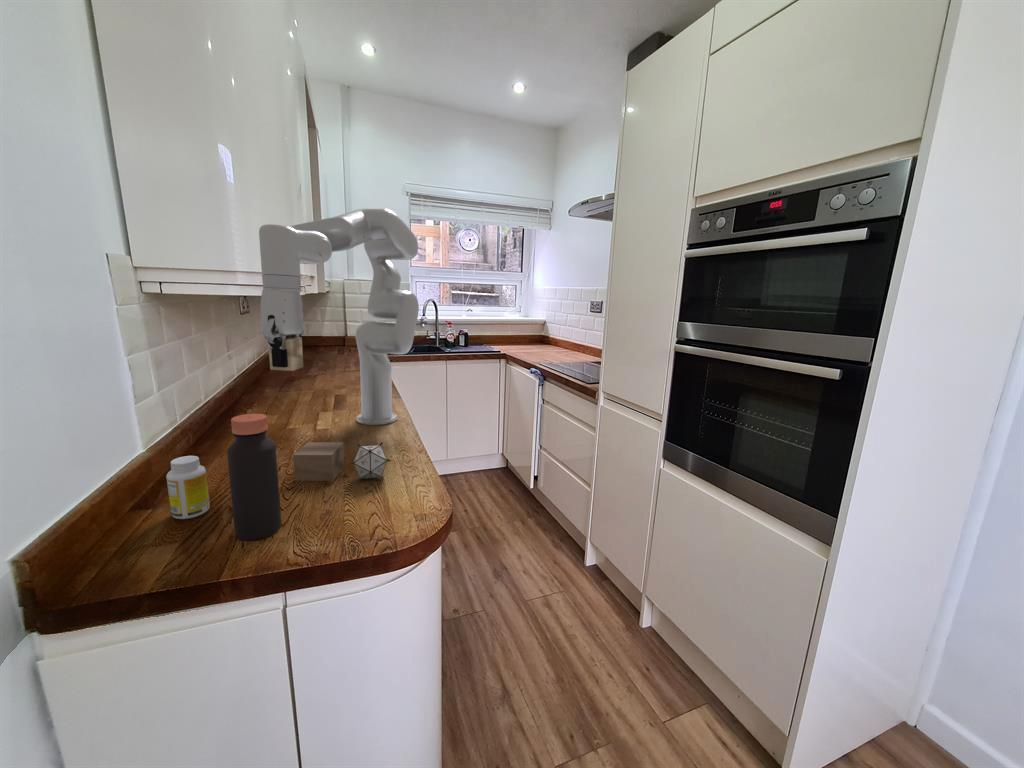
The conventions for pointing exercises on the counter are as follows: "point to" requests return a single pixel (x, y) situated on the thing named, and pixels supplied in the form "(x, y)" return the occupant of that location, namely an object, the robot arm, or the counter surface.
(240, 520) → the water bottle
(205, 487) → the supplement bottle
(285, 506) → the counter surface
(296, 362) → the pale wooden block
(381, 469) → the game die
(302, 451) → the walnut block
